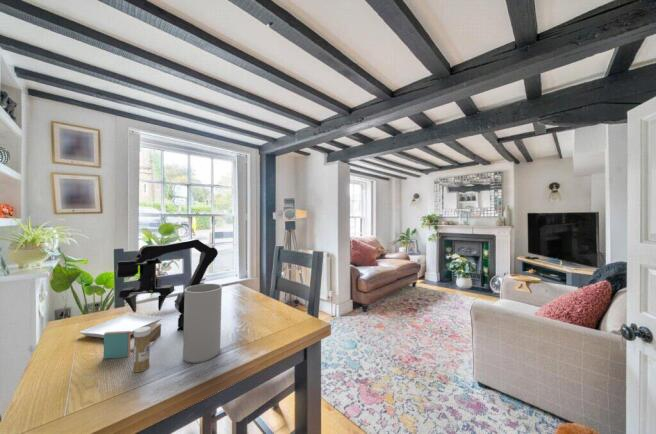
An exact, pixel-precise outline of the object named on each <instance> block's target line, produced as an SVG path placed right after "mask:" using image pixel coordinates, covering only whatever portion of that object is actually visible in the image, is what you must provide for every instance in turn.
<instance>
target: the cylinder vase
mask: <svg viewBox="0 0 656 434" xmlns="http://www.w3.org/2000/svg"><path fill="white" fill-rule="evenodd" d="M222 286H223V285H221V284H218V283H202V284H201V283H200V284H199V285H194V286H190V287H187V286H186V288H185V289H184V291H185V298H184V330H183V337H182V340H183V341H182V343H183V344H182V346H183V347H182V358H183V360H184V361H185V362H187V363H192V364H195V363H196V364H198V363H204V362H206V361H209V360H212V359H214V358H215V357H216V356H217V355H218V354H219V353H220V352H221V335H222V334H221V330H222V326H221V325H222V290H223V289H222V288H223V287H222Z"/></svg>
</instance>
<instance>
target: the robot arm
mask: <svg viewBox="0 0 656 434" xmlns="http://www.w3.org/2000/svg"><path fill="white" fill-rule="evenodd" d="M189 249H195V250H197V252H200V254H199V259H198V265H197V266H196V268H195V270H194V272H193V274H192V277H191V278H190V280H189V282H188V284H187V286H186V288H187V287H190V286H194V285H200V284H201V282H202V280H203V277H204V276H205V274H206V271H208V268H209V266H210V265H211V264H212V263H213V262H214V261H215V259H216V258H217V256H218V254H219V251H218V249H217V248H216V247H213V246H209V245H207V244H206V243H203V242H202V241H200V239H197V238H191V239H187V240H183V241H178V242H171V243H166V244H147V245H143V246H141V247H140V248H139V250H138V254H137V255H136V256H135V257H134V258H133V260H119V261H117V265H116V269H115V273H116V274H115V276H116V279H125V278H134V277H135V276H136V275H137V274H139V278H138V279H137V282H139V284H138V286H139V288H137V287H136V286H134V287H133V286H131V287H125V288H123V289H121V290H120V291H119V292H118V299H121V298H122V301H123V300H124V301H125V302H126V303H127V304H128V305H129V307H130V308H131V311H132V312H133V314H136V312H137V296H138V295H139V294H140V295H142V294H159V295H158V296H157V299H158V300H157V301H158V304H157V307H158V309H157V310H158V311H161V309H162V308H163V304H164V301H165V300H166V298H167V297H168V296H170V295H171V294H172V293H173V292H175V286H174V284H169V285H168V284H166V285H161V284H162V279H159V278H158V275H157V264H162V263H163V262H162V261H161V260H159V257H161V256H164V255H165V254H171V253H174V252H178V251H184V250H189ZM184 298H185V290H184V291H183V292H182V293H178V294H177V297H176V299H175V300H174V301H173V302H174V308H175V310H177V312H179V313H180V314H179V316H178V318H177V331H184Z"/></svg>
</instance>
